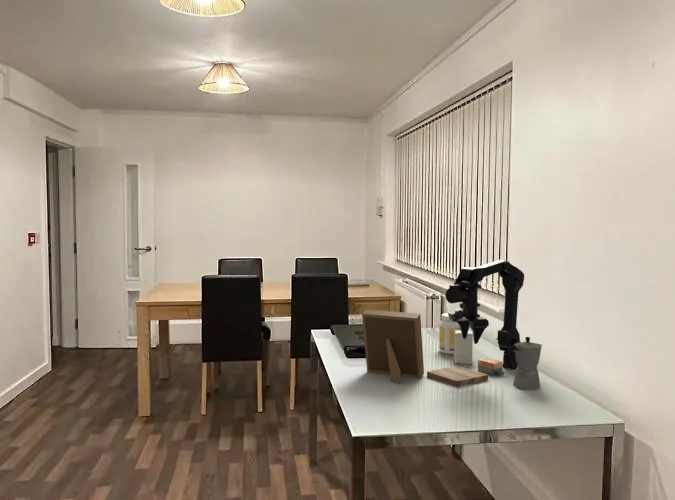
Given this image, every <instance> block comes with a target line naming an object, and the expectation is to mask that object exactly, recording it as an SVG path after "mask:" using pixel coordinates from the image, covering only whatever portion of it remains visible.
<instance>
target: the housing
mask: <svg viewBox="0 0 675 500" xmlns="http://www.w3.org/2000/svg"><path fill="white" fill-rule="evenodd" d="M502 364H503V361H500V360H496V359H493V358H488V357H486V358H480V359H479V358H478V359H477V372H481V373H484V374H488V375H491V376H498V377H504V376H505V372H504V371H503V366H502Z"/></svg>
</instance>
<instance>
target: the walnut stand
mask: <svg viewBox="0 0 675 500" xmlns="http://www.w3.org/2000/svg"><path fill="white" fill-rule="evenodd" d="M426 378H430V379H432V380H436V381H439V382H442V383H445V384H447V385H451V386H454V387H457V388H458V387H463V386H469V385H472V384H477V383H481V382H485V381H489V374H486V373H483V372H479V371H478V370H477V371H476V370H475V369H474V370H473V369H470V368H467V367H463V366H460V365H453V366H449V367H442V368H439V369H433V370H428V371H426Z"/></svg>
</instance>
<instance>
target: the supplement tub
mask: <svg viewBox="0 0 675 500" xmlns="http://www.w3.org/2000/svg"><path fill="white" fill-rule="evenodd" d="M455 330H460V327H459V324H458V323H457V322H453V321H452V320H450V319H449V316H448V312H444V313H442V314H441V320H440V321H439V331H438V332H439V335H438V336H439V339H438V340H439V341H438V342H439V347H438V348H439V351H440V353H443V354H446V355H454V351H455Z"/></svg>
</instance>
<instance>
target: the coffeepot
mask: <svg viewBox="0 0 675 500" xmlns="http://www.w3.org/2000/svg"><path fill="white" fill-rule="evenodd" d="M542 346H543V344H540V343H536V342H531V337H529V336H526V337H525V341H520V343H516V344H514V345H512V346H511V347H510V348H509V350H508V354H509V358H510V362H511V365H512V368H515V373H514V374H515V375H514V379H513V386H514V387H515V388H516V389H520V390H525V391H535V390H536V391H537V390H539V389H540V388H541V381H540V375H539V370H538V365H540V364H539V362H540V357H541V351H542ZM514 350H515V356H516V362H517V363H518V367H517V365H515V364H514V363H515V361H514V358H513V351H514Z"/></svg>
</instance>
